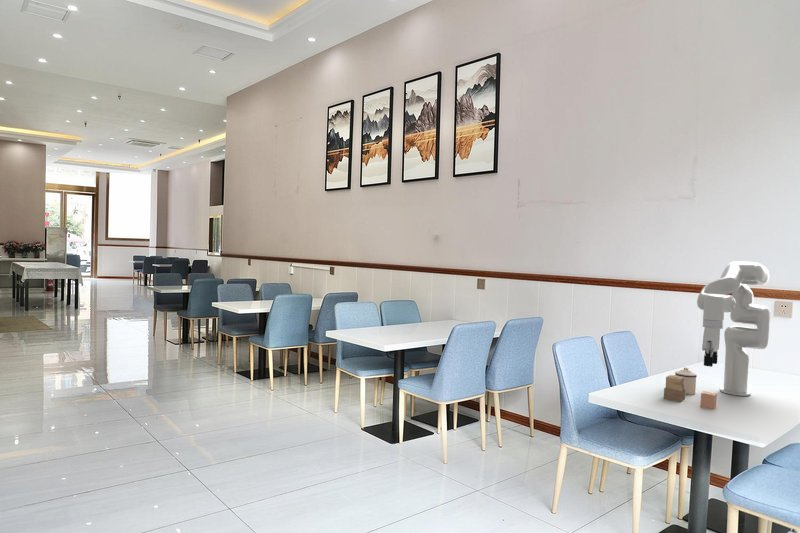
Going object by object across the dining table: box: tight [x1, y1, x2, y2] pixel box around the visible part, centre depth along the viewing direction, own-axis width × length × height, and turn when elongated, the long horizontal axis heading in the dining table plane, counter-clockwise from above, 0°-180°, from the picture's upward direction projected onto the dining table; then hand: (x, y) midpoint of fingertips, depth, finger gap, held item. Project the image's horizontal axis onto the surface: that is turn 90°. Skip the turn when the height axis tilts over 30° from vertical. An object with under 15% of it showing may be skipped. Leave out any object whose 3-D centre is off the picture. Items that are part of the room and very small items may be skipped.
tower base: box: [663, 386, 686, 403], centre depth 244 cm, size 7×7×5 cm
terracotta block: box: [700, 390, 718, 410], centre depth 233 cm, size 5×5×6 cm
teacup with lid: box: [672, 367, 697, 396], centre depth 259 cm, size 12×9×12 cm
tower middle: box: [665, 374, 684, 391], centre depth 244 cm, size 6×6×5 cm
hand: (710, 364), depth 232 cm, fingers open, 9 cm apart
